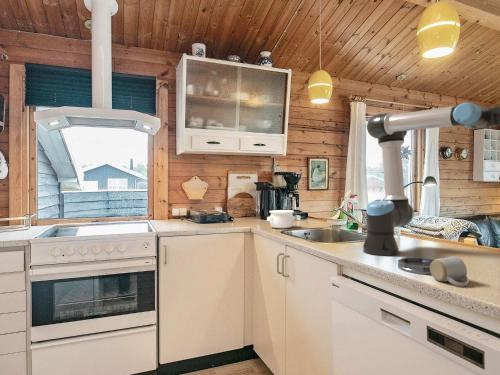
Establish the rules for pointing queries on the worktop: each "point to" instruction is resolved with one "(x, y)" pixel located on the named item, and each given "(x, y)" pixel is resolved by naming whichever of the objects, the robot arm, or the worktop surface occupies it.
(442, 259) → the ceramic mug
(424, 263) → the ring plate
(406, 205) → the robot arm
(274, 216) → the pot
